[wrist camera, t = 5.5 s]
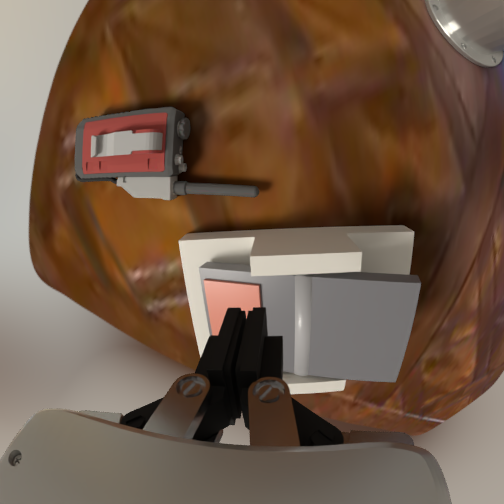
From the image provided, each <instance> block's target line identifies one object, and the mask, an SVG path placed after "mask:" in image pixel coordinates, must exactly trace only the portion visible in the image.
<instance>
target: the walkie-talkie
mask: <svg viewBox="0 0 504 504" xmlns="http://www.w3.org/2000/svg"><path fill="white" fill-rule="evenodd" d="M184 116H185V114H184V113H183V112H181V111H180V110H177V109H175V108H173V107H162V108H155V109H151V108H148V109H142V110H136V111H130V112H125V113H123V112H121V113H116V114H111V115H110V114H107V115H103V116H99V117H97V116H96V117H91V118H87V119H83V120H82V121H81V122H80V124H79V125H78V126H77V129H76V142H75V171H76V179H77V180H78V181H81V182H89V181H111V182H113V183H115V184H117V186H122V187H123V188H124V189H125V190H126V191H127V192H128V193H129V194H131V195H132V196H133V197H135V198H162V199H163V200H172V199H175V198H177V195H187V194H208V195H227V196H243V197H256V196H257V195H258V194H259V189H258V188H257V187H256V186H248V185H232V184H212V183H188V182H187V181H177V179H178V176H177V175H179V174H180V173H181V172H186V169H187V165H186V163H183V156H182V149H183V139H187V138H188V137H189V134H190V121H189V119H188V118H184ZM113 177H114V178H113ZM116 177H118V180H117V179H116Z"/></svg>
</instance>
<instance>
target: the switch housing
mask: <svg viewBox="0 0 504 504" xmlns="http://www.w3.org/2000/svg"><path fill="white" fill-rule="evenodd" d="M413 241H414V231H413V230H411V229H409V228H408V227H406V226H404V225H387V226H344V227H312V228H286V229H263V230H242V231H223V232H205V233H189V234H186V235H185V236H183V237H182V238H181V239H180V240H179V247H180V254H181V260H182V266H183V272H184V278H185V284H186V289H187V295H188V300H189V305H190V310H191V315H192V320H193V325H194V330H195V335H196V339H197V344H198V348H199V353H200V357H201V356H202V353H203V351H204V348H205V346H206V343H207V341H208V338H209V336H210V333H209V328H208V322H207V316H206V311H205V305H204V299H203V292H202V286H201V280H200V273H199V267H200V266H202V265H203V264H204V263H206V262H220V263H233V264H246V265H250V267H251V276H274V275H299V274H321V273H341V272H369V273H387V274H406V275H409V274H410V267H411V259H412V251H413ZM283 381H285V382H286V383H287V384H288V387H289V389H290V394H304V393H320V392H332V391H342V390H344V387H345V382H346V379H338V378H329V377H320V376H312V375H306V376H299V375H296V374H295V373H291V372H284V371H283Z"/></svg>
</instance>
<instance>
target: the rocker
mask: <svg viewBox="0 0 504 504" xmlns="http://www.w3.org/2000/svg"><path fill="white" fill-rule="evenodd" d="M199 273H200V280H201V286H202V292H203V299H204V305H205V311H206V316H207V322H208V328H209V333H210V335H218V334H219V331H220V328H221V325H222V323H223V320H224V317H225V314H226V311H227V309H228V308H241V311H245V312H246V319H247V315H248V311H252V310H253V307H266V315H267V330H268V336H283V371H284V372H291V373H295V374H296V375H299V376H306V375H312V376H320V377H329V378H338V379H349V380H362V381H378V382H396V379H397V376H398V373H399V370H400V367H401V364H402V361H403V358H404V354H405V351H406V347H407V344H408V340H409V336H410V332H411V329H412V324H413V320H414V316H415V312H416V307H417V302H418V297H419V292H420V287H421V282H420V280H419V277H418V275H406V274H387V273H369V272H341V273H321V274H299V275H274V276H251V267H250V265H246V264H233V263H220V262H206V263H204V264H203V265H202V266H200V267H199Z"/></svg>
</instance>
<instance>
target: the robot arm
mask: <svg viewBox="0 0 504 504" xmlns="http://www.w3.org/2000/svg"><path fill="white" fill-rule="evenodd" d="M425 4H426V7H427V10H428V12H429V14H430V16H431V18H432V20H433V22H434V23H435V25H436V27H437V28H438V29H439V31H440V32H441V34H442V35H443V36H444V37H445V38H446V40H447V41H448V42H449V43H450V44H451V45H452V46H453V47H454V48H455V49H456V50H457V51H458V52H459V53H460V54H462V55H463V56H464V57H465V58H467V59H468V60H470V61H471V62H473V63H475V64H477V65H479V66H482V67H493V66H496V65H498V64H499V63H500V62H501V61H502V58H503V50H504V0H425ZM241 412H242V413H243V418H244V422H245V427H246V428H248V429H249V430H250V446H247V445H233V444H222V443H219V442H220V440H221V438H222V435H223V429H224V428H226V427H228V426H229V425H235V420H236V418H240V417H241ZM0 504H452V503H451V499H450V494H449V491H448V487H447V483H446V481H445V478H444V475H443V472H442V470H441V468H440V466H439V464H438V462H437V460H436V459H435V457H434V456H433V455H432V454H431V453H430V452H429V451H427V450H425V449H423V448H420V447H417V446H414V442H413V440H412V438H411V437H410V436H409V435H407V434H406V433H402V432H373V431H372V432H371V431H355V430H351V431H350V433H349V432H341V431H340V430H339V429H337V428H336V427H335V426H333V425H332V424H330V423H328V422H327V421H325V420H324V419H322V418H321V417H319V416H318V415H316V414H315V413H313V412H312V411H310V410H309V409H307V408H306V407H305V406H303V405H302V404H300V403H299V402H297V401H296V400H295V399H293V398H292V397H291V394H290V389H289V387H288V384H287V383H286V382H285V381H283V336H268V330H267V315H266V307H253V310H252V311H248V315H247V319H246V312H245V311H241V308H228V309H227V311H226V314H225V317H224V320H223V323H222V325H221V328H220V331H219V334H218V335H210V336H209V338H208V341H207V343H206V346H205V348H204V351H203V353H202V356H201V358H200V361H199V364H198V366H197V369H196V371H195V373H192V374H186V375H183V376H181V377H179V378H178V379H177V380H176V381H175V382H174V383H173V385H172V386H171V388H170V389H169V391H168V392H167V394H166V395H165V397H163V398H161V399H159V400H157V401H155V402H152V403H150V404H148V405H145V406H143V407H141V408H139V409H136V410H134V411H131V412H129V413H128V414H126V415H125V416H123V415H122V414H121V413H109V412H97V411H87V410H85V411H79V412H78V411H73V410H67V409H44V410H41V411H38V412H37V413H35V414H34V415H33V416H32V417H31V418H30V419H29V420H28V421H27V422H26V423H25V424H24V426H23V427H22V428H21V429H20V431H19V432H18V433H17V435H16V437H15V438H14V439H13V441H12V442H11V444H10V445H9V447H8V448H7V450H6V451H5V453H4V455H3V456H2V458H1V460H0Z"/></svg>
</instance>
